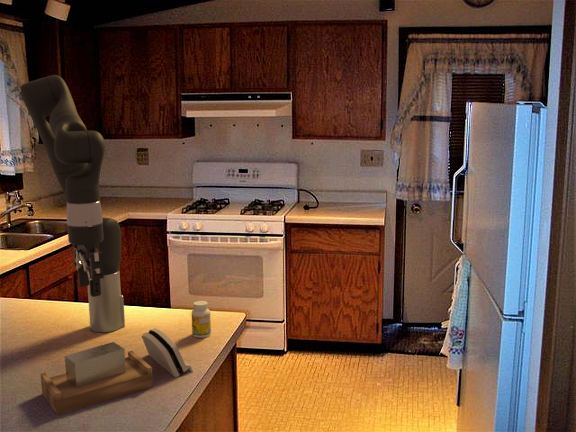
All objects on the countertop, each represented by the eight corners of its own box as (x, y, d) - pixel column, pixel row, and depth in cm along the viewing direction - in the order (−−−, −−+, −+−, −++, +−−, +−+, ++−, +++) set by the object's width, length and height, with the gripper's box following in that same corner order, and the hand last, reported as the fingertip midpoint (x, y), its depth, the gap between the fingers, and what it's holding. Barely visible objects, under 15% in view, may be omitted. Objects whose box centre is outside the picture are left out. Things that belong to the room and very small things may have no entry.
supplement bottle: (213, 336, 176) (212, 304, 174) (194, 339, 174) (193, 307, 172) (208, 330, 181) (207, 298, 179) (190, 332, 179) (189, 301, 177)
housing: (66, 380, 141) (64, 355, 140) (114, 365, 149) (113, 341, 148) (76, 388, 137) (74, 363, 136) (125, 372, 145) (124, 348, 144)
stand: (42, 393, 142) (40, 373, 141) (132, 369, 155) (131, 350, 154) (57, 415, 132) (55, 393, 131) (152, 387, 145) (151, 367, 144)
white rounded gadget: (193, 372, 153) (180, 339, 149) (177, 382, 151) (163, 350, 147) (165, 349, 167) (152, 319, 163) (150, 359, 164) (136, 328, 161)
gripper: (59, 218, 140) (64, 285, 143) (77, 229, 129) (82, 302, 132) (91, 214, 144) (96, 280, 148) (112, 224, 133) (116, 296, 136)
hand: (89, 290), depth 140 cm, fingers open, 8 cm apart
